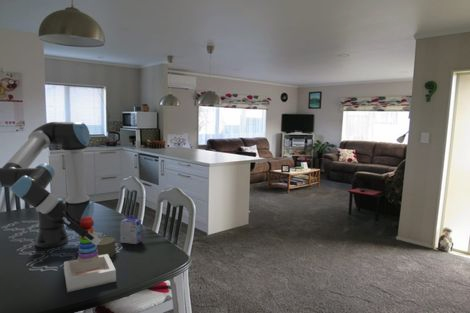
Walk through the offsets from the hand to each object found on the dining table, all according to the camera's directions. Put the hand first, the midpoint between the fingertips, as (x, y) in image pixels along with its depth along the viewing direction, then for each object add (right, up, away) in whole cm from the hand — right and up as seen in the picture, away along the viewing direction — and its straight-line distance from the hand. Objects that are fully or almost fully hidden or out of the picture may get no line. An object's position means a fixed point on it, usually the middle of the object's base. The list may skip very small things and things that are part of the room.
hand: (97, 240), depth 138 cm
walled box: (-4, -16, +1) cm, 16 cm away
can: (-8, -13, +25) cm, 29 cm away
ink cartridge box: (+1, -11, +41) cm, 42 cm away
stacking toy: (-3, -8, -1) cm, 9 cm away
